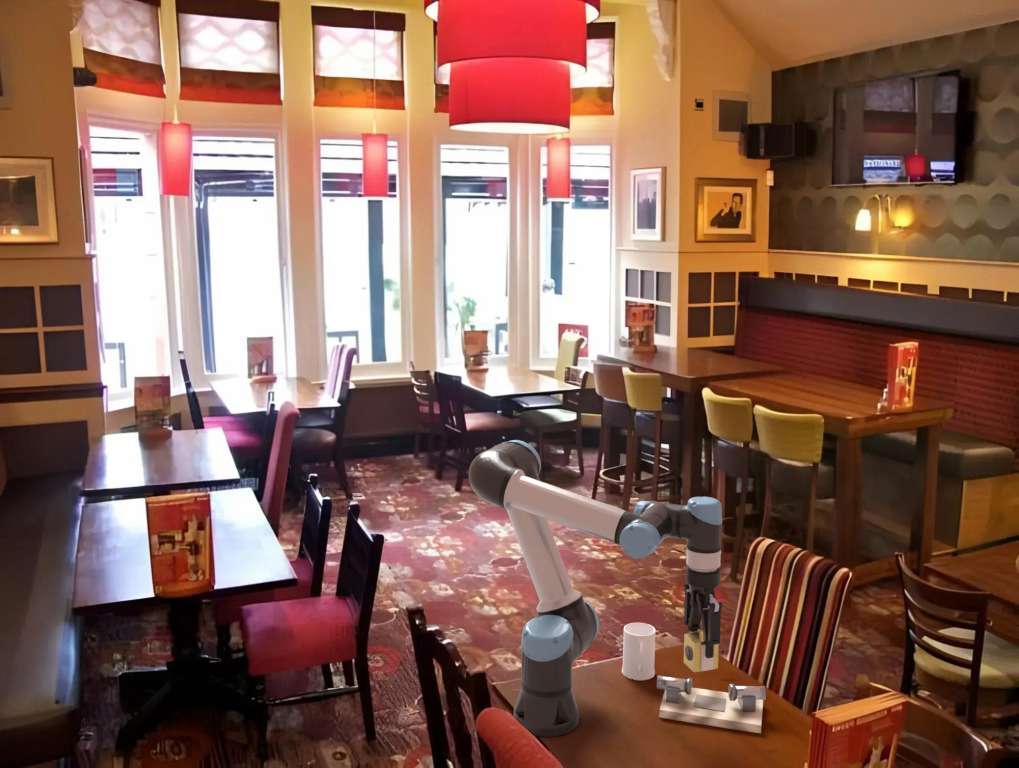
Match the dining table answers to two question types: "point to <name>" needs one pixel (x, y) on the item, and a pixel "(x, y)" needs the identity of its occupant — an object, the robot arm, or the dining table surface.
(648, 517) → the robot arm
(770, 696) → the dining table surface
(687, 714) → the bench
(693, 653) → the wooden block with hole
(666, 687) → the shaft left
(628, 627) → the mug
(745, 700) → the shaft right
